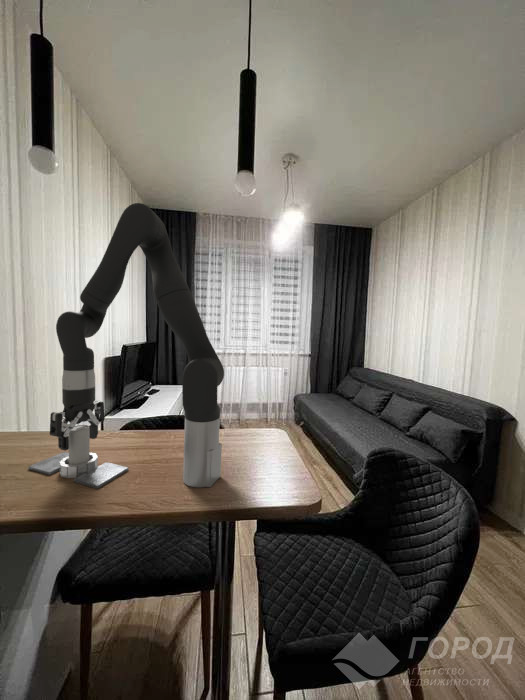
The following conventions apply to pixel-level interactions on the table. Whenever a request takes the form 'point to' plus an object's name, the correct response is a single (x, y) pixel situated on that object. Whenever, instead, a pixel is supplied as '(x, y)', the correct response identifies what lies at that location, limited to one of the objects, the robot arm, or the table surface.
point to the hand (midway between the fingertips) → (79, 443)
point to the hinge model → (80, 470)
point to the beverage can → (79, 445)
